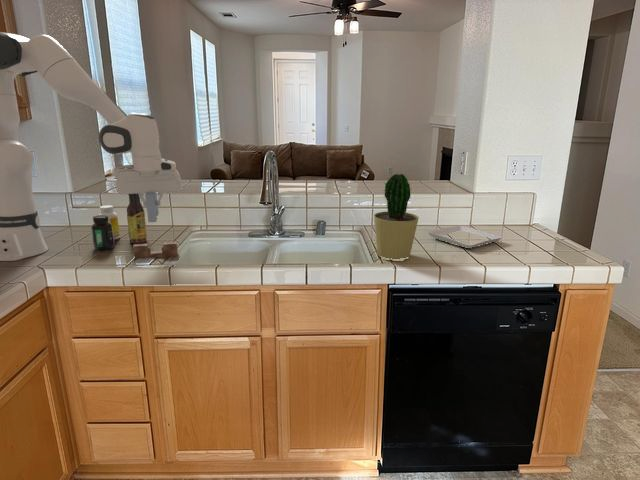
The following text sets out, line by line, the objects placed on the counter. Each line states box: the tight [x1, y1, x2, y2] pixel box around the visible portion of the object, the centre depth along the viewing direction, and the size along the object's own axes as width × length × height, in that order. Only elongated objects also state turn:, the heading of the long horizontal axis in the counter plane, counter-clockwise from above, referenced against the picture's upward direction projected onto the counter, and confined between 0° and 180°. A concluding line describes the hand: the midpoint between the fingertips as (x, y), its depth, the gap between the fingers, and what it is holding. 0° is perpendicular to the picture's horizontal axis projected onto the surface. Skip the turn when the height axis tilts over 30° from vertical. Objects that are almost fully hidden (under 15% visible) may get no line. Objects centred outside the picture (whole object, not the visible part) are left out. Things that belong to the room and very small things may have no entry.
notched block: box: [132, 241, 179, 260], centre depth 149 cm, size 14×2×4 cm, turn 106°
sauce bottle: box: [126, 194, 148, 244], centre depth 164 cm, size 6×6×20 cm
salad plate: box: [427, 225, 503, 249], centre depth 173 cm, size 21×21×3 cm
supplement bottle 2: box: [90, 214, 116, 252], centre depth 156 cm, size 7×7×12 cm
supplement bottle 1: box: [98, 205, 121, 241], centre depth 168 cm, size 7×7×13 cm
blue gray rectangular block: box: [144, 192, 160, 223], centre depth 145 cm, size 2×12×9 cm, turn 16°
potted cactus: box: [373, 173, 419, 259], centre depth 150 cm, size 15×15×30 cm
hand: (152, 205), depth 145 cm, fingers closed on blue gray rectangular block, 2 cm apart
